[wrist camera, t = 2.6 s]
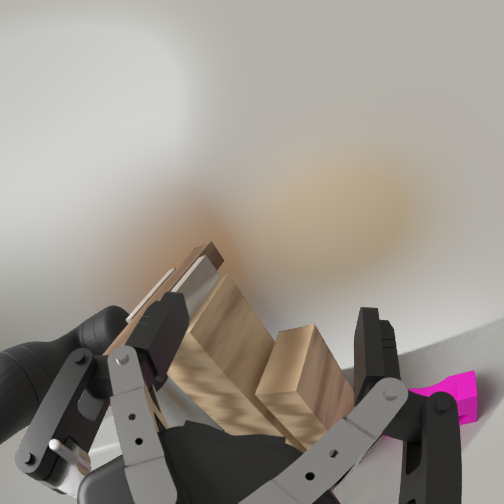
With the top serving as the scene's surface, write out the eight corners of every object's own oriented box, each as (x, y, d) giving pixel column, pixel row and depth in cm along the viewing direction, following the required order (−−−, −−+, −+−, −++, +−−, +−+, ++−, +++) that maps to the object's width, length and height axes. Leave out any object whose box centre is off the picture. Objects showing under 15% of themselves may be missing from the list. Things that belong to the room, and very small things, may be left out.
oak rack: (266, 465, 43) (120, 321, 33) (282, 418, 51) (163, 272, 41) (356, 465, 35) (222, 291, 25) (364, 411, 43) (260, 232, 33)
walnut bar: (104, 404, 25) (80, 381, 24) (207, 267, 44) (194, 248, 43) (120, 407, 23) (95, 382, 22) (224, 260, 42) (211, 240, 41)
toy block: (474, 387, 34) (473, 357, 32) (476, 422, 30) (477, 395, 27) (385, 404, 43) (373, 378, 40) (379, 437, 38) (367, 414, 35)
